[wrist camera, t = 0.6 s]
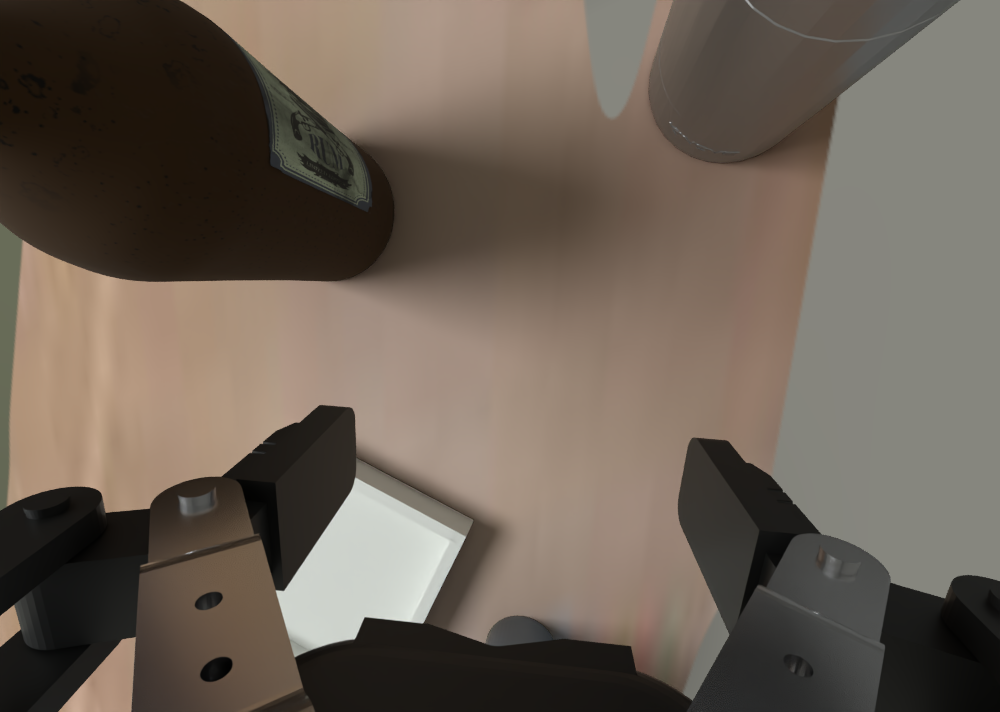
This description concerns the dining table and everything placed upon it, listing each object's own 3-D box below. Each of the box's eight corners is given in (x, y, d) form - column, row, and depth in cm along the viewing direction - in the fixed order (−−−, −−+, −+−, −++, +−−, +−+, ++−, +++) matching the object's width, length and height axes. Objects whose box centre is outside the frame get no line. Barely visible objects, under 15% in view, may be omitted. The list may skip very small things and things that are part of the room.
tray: (302, 429, 36) (282, 438, 34) (473, 520, 35) (466, 536, 32) (228, 607, 39) (204, 628, 36) (385, 698, 37) (371, 726, 35)
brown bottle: (311, 319, 35) (-310, 358, 10) (231, 191, 35) (-587, -73, 10) (434, 234, 33) (23, 37, 8) (349, 98, 33) (-316, -500, 8)
